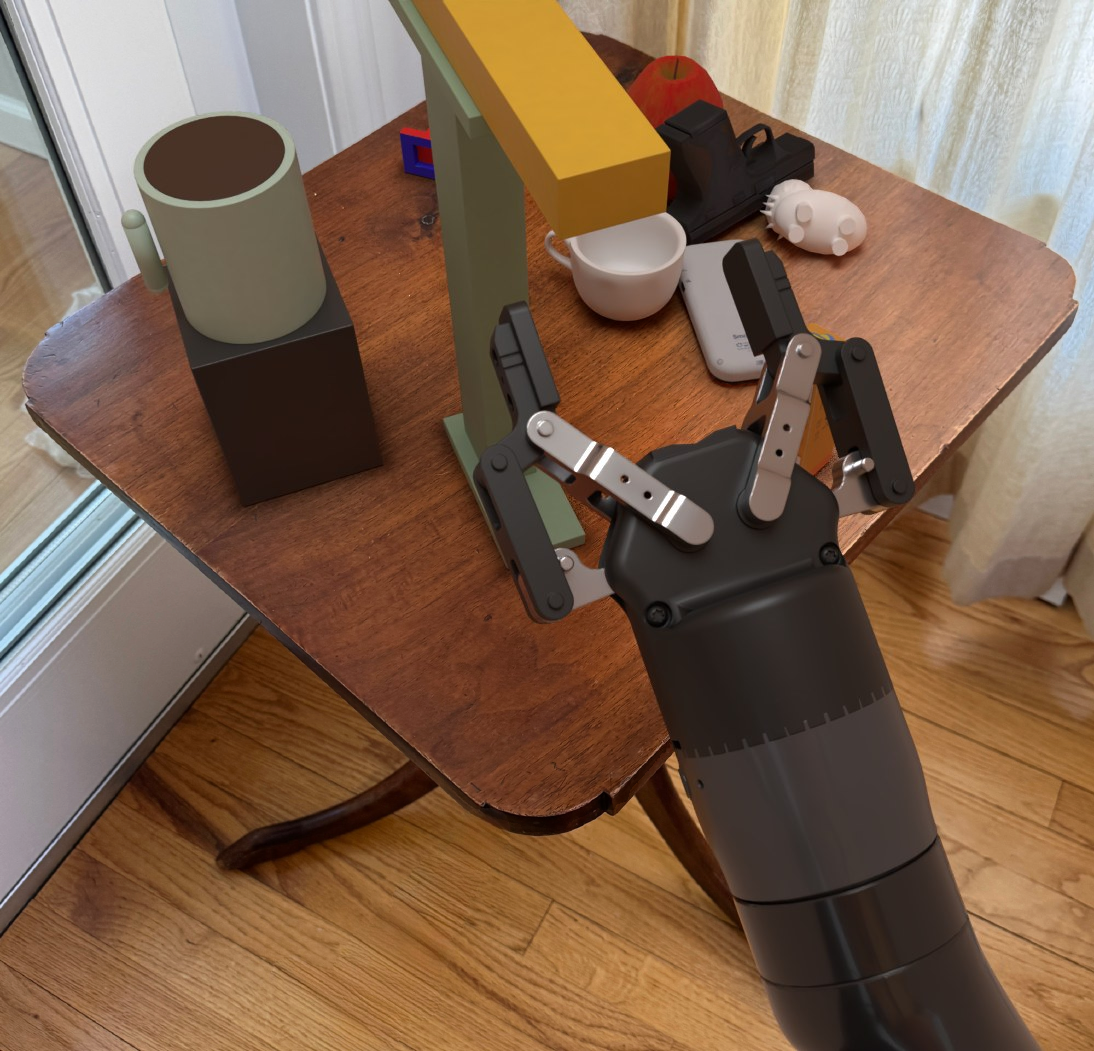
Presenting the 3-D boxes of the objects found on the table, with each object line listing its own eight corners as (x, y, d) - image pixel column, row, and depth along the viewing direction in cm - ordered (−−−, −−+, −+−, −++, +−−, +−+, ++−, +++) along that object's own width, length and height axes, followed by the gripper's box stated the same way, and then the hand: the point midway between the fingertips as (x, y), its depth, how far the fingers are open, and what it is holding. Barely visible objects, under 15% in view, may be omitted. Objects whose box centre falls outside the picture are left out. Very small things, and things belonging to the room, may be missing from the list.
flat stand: (507, 569, 67) (468, 117, 43) (443, 428, 74) (379, -31, 50) (585, 543, 68) (591, 88, 44) (515, 406, 75) (487, -53, 51)
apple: (595, 198, 87) (597, 70, 79) (643, 141, 91) (650, 14, 83) (692, 230, 85) (705, 101, 76) (737, 171, 89) (754, 42, 80)
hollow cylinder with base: (228, 511, 70) (118, 237, 53) (201, 411, 75) (92, 132, 58) (383, 465, 72) (324, 186, 55) (346, 370, 77) (281, 88, 60)
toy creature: (754, 244, 81) (746, 220, 86) (859, 275, 82) (845, 249, 87) (778, 181, 79) (768, 160, 84) (886, 213, 79) (869, 191, 85)
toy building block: (427, 142, 92) (518, 163, 90) (404, 172, 90) (497, 194, 88) (422, 102, 89) (516, 124, 88) (399, 132, 87) (495, 155, 85)
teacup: (695, 278, 82) (701, 217, 77) (658, 349, 77) (663, 288, 73) (566, 245, 84) (566, 183, 80) (524, 311, 80) (521, 250, 76)
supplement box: (787, 432, 73) (813, 316, 65) (831, 461, 71) (863, 345, 63) (754, 461, 71) (777, 345, 63) (798, 491, 70) (826, 376, 62)
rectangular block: (559, 241, 38) (558, 179, 36) (404, -11, 49) (396, -71, 47) (666, 212, 39) (671, 150, 37) (492, -30, 49) (488, -89, 47)
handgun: (681, 135, 75) (688, 263, 83) (824, 57, 80) (819, 184, 87) (652, 122, 77) (662, 248, 84) (793, 46, 82) (791, 172, 89)
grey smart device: (808, 358, 74) (803, 380, 76) (754, 233, 82) (750, 254, 83) (716, 371, 74) (712, 392, 75) (670, 244, 81) (668, 265, 83)
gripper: (1032, 655, 36) (853, 180, 37) (613, 815, 33) (437, 293, 34) (916, 662, 43) (771, 265, 44) (566, 793, 40) (422, 364, 41)
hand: (626, 278), depth 39 cm, fingers open, 8 cm apart
